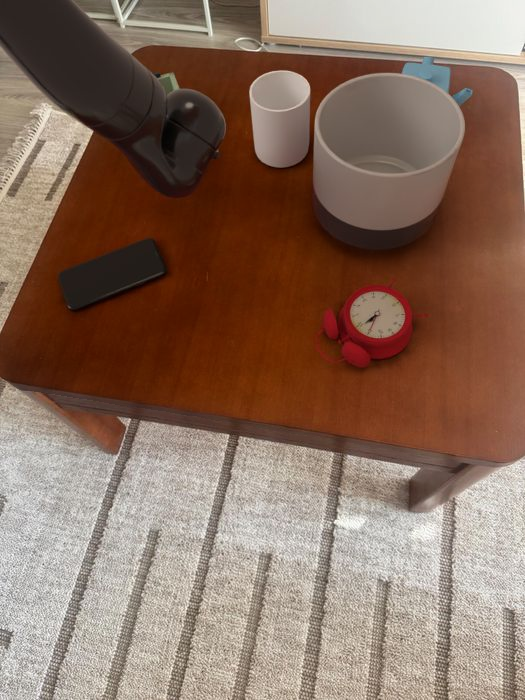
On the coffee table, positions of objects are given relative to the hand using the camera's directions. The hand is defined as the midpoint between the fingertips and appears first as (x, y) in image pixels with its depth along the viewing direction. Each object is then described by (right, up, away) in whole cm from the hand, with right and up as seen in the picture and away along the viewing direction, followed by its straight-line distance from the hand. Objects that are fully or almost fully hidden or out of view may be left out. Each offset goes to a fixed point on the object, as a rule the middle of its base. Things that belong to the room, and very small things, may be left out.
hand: (177, 162), depth 86 cm
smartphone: (-9, -19, -4) cm, 22 cm away
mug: (+18, +5, +6) cm, 19 cm away
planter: (+32, -9, -2) cm, 33 cm away
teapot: (+41, +8, +6) cm, 43 cm away
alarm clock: (+28, -28, -11) cm, 42 cm away
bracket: (-5, +10, +10) cm, 15 cm away
